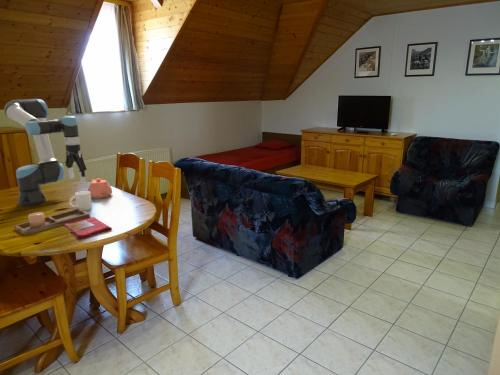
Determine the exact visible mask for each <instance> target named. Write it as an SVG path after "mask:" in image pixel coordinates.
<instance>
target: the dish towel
mask: <svg viewBox="0 0 500 375" xmlns="http://www.w3.org/2000/svg"><path fill="white" fill-rule="evenodd" d="M81 222H88V223H89V224H92V225H90V226H87V227H84V228H81V229H78V230H77V229H75V228H74V227H72V226H71V225H73V224H78V223H81ZM63 226H65V227H66V229H67V228H68V229H69V230H70V231H71V232H70V234H71V235H72V236H74V237H75V238H76V239H78V240H82V239H85V238H89V237H92V236H97V235H99V234H103V233H107V232H110V231H112V229H113V228H112V227H111V226H109V225H107V224H105V223H104V222H103V221H101V220H99V219H98V218H96V217H94V216H92V217H90V218H88V219H84V220H83V219H81V220H78V221H74V222H71V223H65V224H64V225H63Z"/></svg>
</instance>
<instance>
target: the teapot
mask: <svg viewBox="0 0 500 375" xmlns="http://www.w3.org/2000/svg"><path fill="white" fill-rule="evenodd" d="M87 191H90V194H91V199H97V200H98V199H103V198H104V199H105V198H109V197H110V196H111V195H112V193H113V188H112V186H111V185H110V183H109V182H108V181H107V180H106V179H102V178H100V177H99V178H96V179H94V178H93V179H91V182H90V183H89V186H88V188H87Z"/></svg>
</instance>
